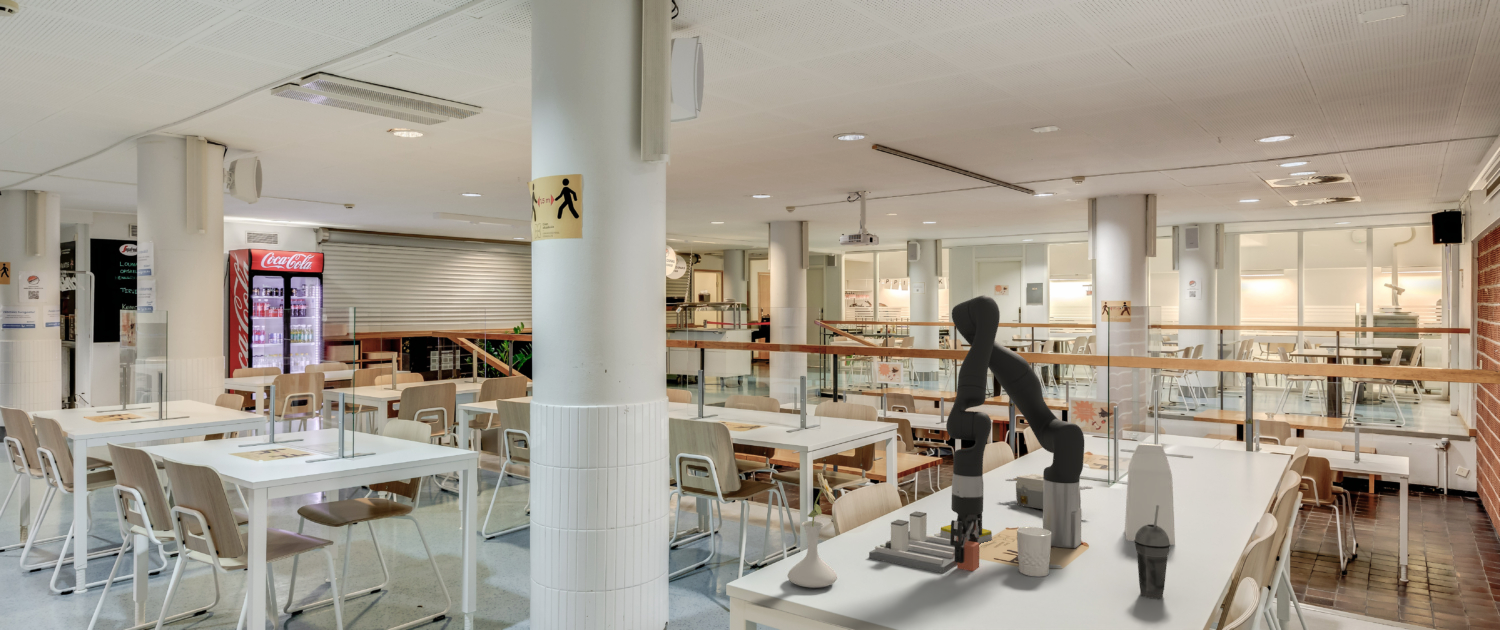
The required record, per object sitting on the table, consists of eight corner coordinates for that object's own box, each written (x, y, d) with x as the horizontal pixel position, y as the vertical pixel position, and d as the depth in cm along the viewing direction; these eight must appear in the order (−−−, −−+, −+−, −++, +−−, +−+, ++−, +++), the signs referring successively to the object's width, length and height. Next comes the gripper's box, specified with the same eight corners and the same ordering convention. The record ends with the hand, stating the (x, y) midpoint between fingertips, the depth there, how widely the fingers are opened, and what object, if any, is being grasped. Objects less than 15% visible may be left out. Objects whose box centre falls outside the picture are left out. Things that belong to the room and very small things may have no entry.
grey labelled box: (1073, 518, 250) (1071, 485, 250) (1001, 505, 275) (1000, 475, 275) (1098, 514, 256) (1097, 481, 256) (1026, 501, 280) (1025, 471, 281)
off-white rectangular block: (926, 540, 220) (926, 513, 220) (919, 544, 217) (920, 515, 217) (915, 538, 222) (916, 511, 222) (909, 542, 219) (909, 514, 218)
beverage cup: (1127, 589, 187) (1128, 501, 187) (1157, 589, 188) (1158, 501, 188) (1145, 601, 180) (1146, 509, 180) (1176, 600, 181) (1178, 509, 181)
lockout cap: (979, 567, 203) (979, 542, 203) (973, 571, 200) (973, 546, 200) (963, 564, 206) (963, 540, 206) (957, 568, 202) (957, 543, 202)
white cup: (1050, 569, 202) (1051, 528, 202) (1051, 579, 194) (1051, 536, 194) (1016, 566, 204) (1017, 525, 204) (1016, 575, 197) (1016, 533, 197)
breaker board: (977, 552, 216) (977, 537, 216) (943, 573, 198) (943, 557, 198) (906, 539, 228) (907, 524, 228) (869, 557, 210) (869, 542, 210)
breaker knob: (908, 550, 211) (908, 521, 211) (901, 553, 208) (901, 524, 208) (897, 548, 213) (898, 519, 213) (890, 551, 210) (890, 522, 210)
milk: (1126, 540, 229) (1127, 446, 229) (1124, 530, 240) (1125, 440, 239) (1175, 545, 224) (1176, 449, 224) (1171, 534, 235) (1172, 443, 235)
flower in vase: (823, 595, 182) (824, 482, 182) (778, 586, 188) (779, 476, 188) (848, 579, 193) (849, 472, 193) (805, 571, 199) (806, 467, 199)
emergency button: (977, 533, 220) (932, 521, 232) (976, 549, 220) (932, 537, 232) (998, 527, 226) (953, 516, 238) (998, 543, 226) (953, 531, 238)
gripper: (964, 485, 211) (962, 549, 211) (941, 495, 200) (939, 562, 200) (992, 490, 206) (991, 554, 206) (971, 499, 195) (969, 568, 195)
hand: (966, 558), depth 203 cm, fingers open, 8 cm apart
